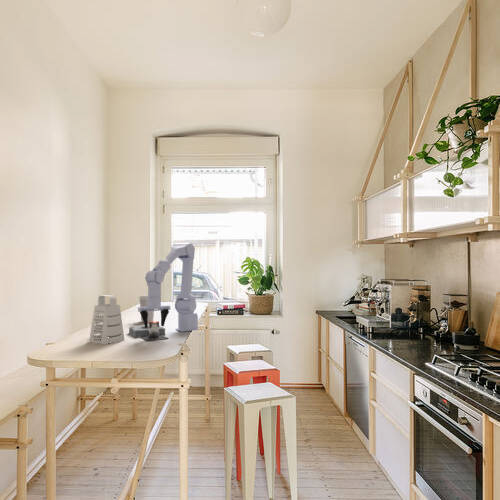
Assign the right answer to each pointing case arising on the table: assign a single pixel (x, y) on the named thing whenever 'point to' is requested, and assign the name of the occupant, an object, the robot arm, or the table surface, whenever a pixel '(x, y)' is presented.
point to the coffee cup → (143, 304)
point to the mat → (154, 338)
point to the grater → (107, 322)
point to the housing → (143, 331)
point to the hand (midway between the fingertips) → (154, 326)
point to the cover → (153, 329)
